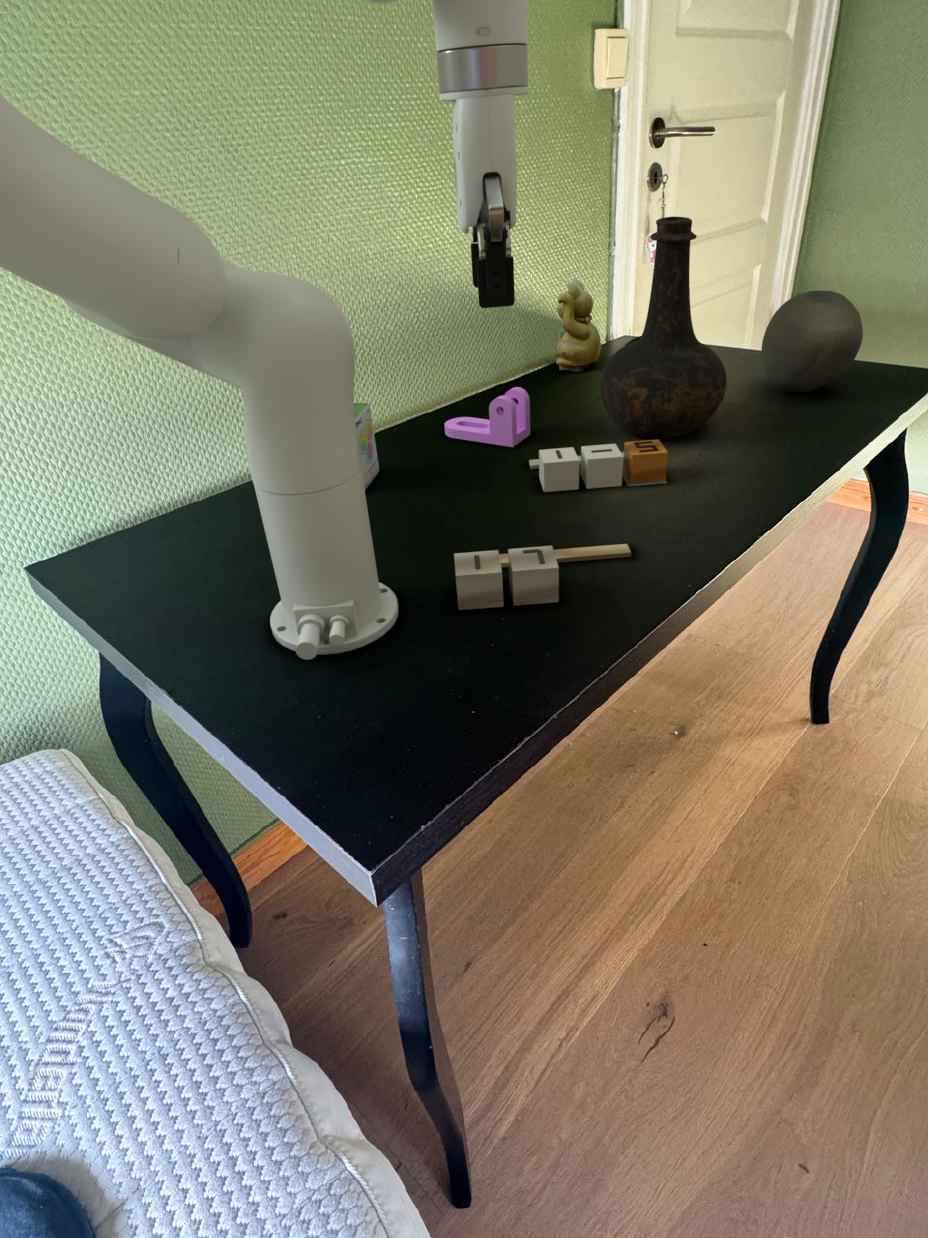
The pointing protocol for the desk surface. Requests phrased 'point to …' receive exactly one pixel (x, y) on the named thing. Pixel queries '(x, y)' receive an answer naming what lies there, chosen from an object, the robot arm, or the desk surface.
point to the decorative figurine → (576, 329)
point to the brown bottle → (665, 353)
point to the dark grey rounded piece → (811, 340)
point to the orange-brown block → (645, 461)
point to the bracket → (496, 421)
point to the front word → (520, 573)
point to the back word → (596, 468)
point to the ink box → (366, 442)
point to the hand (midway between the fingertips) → (492, 295)
